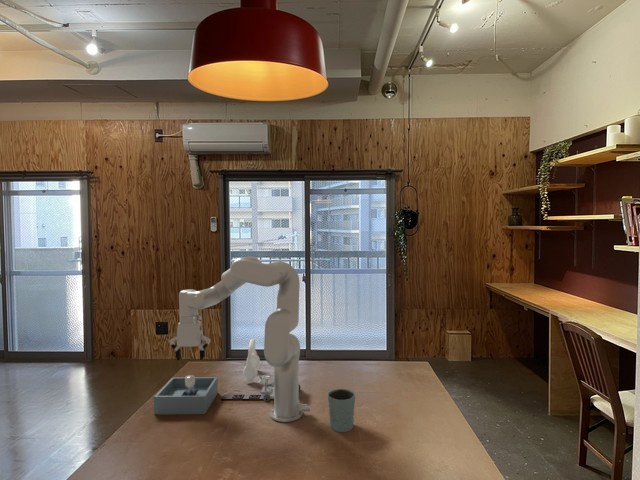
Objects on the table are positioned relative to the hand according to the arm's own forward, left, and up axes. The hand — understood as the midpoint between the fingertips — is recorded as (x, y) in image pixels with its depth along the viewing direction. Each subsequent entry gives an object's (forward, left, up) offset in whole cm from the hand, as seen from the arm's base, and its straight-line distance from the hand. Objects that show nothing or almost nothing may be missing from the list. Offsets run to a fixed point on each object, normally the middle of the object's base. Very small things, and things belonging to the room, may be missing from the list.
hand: (190, 359), depth 170 cm
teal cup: (-63, +23, -18) cm, 69 cm away
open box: (0, +3, -18) cm, 18 cm away
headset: (-21, -26, -18) cm, 38 cm away
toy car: (-37, -4, -18) cm, 42 cm away
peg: (0, 0, -18) cm, 18 cm away
